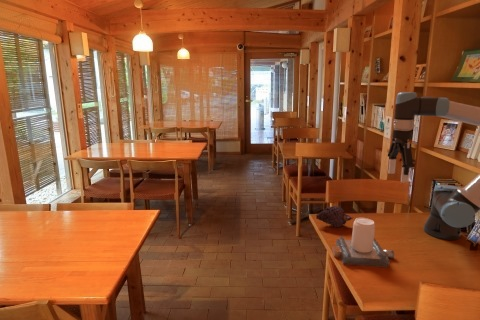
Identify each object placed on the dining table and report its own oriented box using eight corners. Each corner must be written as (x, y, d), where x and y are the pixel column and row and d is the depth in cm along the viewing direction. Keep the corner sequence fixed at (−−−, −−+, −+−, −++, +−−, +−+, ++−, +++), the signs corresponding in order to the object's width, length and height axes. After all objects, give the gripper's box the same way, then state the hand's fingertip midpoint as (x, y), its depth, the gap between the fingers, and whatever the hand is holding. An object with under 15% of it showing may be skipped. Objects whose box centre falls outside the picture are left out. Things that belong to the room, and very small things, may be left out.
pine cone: (317, 229, 159) (318, 209, 157) (313, 221, 169) (314, 202, 167) (354, 230, 159) (356, 211, 156) (348, 222, 168) (350, 203, 166)
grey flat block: (386, 248, 142) (387, 238, 141) (399, 267, 128) (400, 257, 127) (330, 245, 144) (330, 235, 143) (336, 263, 130) (337, 253, 129)
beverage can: (373, 254, 131) (377, 226, 128) (352, 252, 132) (355, 224, 130) (370, 245, 139) (373, 218, 136) (349, 242, 140) (352, 216, 137)
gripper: (382, 125, 155) (378, 170, 160) (406, 133, 130) (400, 185, 135) (399, 125, 154) (394, 170, 159) (426, 133, 130) (419, 186, 135)
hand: (397, 177), depth 147 cm, fingers open, 13 cm apart
